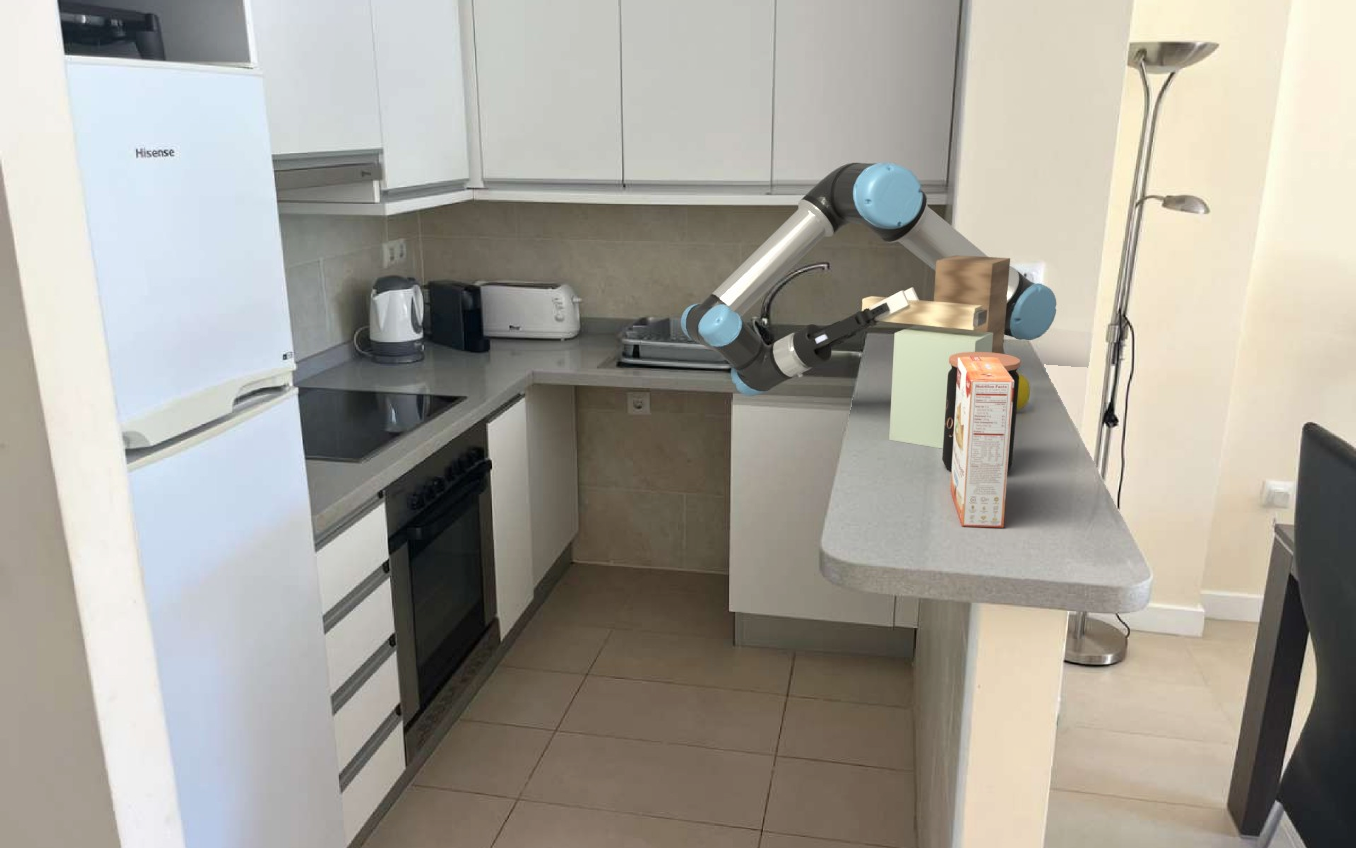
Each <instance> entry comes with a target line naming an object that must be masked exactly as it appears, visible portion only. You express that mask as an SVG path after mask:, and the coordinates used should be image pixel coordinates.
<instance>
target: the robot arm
mask: <svg viewBox="0 0 1356 848" xmlns="http://www.w3.org/2000/svg"><path fill="white" fill-rule="evenodd" d="M921 188H922V185H921V183H920V180H919V179H918V177H917V176H916V175H915V174H914V173H913V172H912V170H909V169H908V168H906V167H904V166H902V165H899V164H895V163H891V162H879V163H874V162H873V163H867V162H851V163H846V164H843V165H841V166H840V167H838V168H836V169H834V170H833V171H831V172H830V173H828V174H827V175H826V176H825V177H823V178H822V179H821V180H820V181H819V182H818V183H816V184H815V186H814V187H813V188H811V189H810V190H809V191H808V192H807V193H806V194H805V195H804V196H803V197H802V198H801V199H800V200H798V205H797V206H798V208H797V210H796V211H794V213H793V214H791V216H790V217H789V218H787V220H785V222H783V224H781V225H780V227H779V228H777V229H776V230H775V231H774V232H773V233H772V235H770V236H769V237H768V239H767V240H766V241H764V242H763V243H762V244H761V245H760V246H759V247H758V248H757V249H756V250H755V251H754V252H753V253H751V255H750V256H749V257H748V258H747V259H746V260H745V261H743V263H742V264H741V265H740V266H738V267H737V268H736V269H735V270H734V272H733V273H731V275H729V276H728V277H727V278H726V279H725V280H724V281H723V282H722V283H721V284H720V285H719V286H718V287H717V288H716V289H715V290H714V291H713V292H712V293H711V294H710V295H709V296H708V297H706V299H704V301H702V302H700V303H695V304H694V303H693V304H691V305H690V306H688V307H686V308H685V310H684V311H683V313H682V314H681V318H680V326H681V330H682V332H683V334H684V335H685V336H686V337H687V338H688V339H690V340H691V341H693V342H694V343H697V344H699V345H702V346H704V347H706V348H708V349H709V350H712V351H714V352H716V353H717V354H719V355H720V356H721V357H722V358H723V359H724V360H725V361H726V362H728V364H730V366H731V370H730V377H731V380H732V383H733V384H735V388H736V390H737V391H738V392H739V393H740V394H742V395H744V396H746V397H754V396H757V395H759V394H761V393H766V392H768V391H771V389H773V388H774V387H776V386H778V385H780V384H782V383H784V382H786V381H788V380H790V379H792V378H795V377H796V376H798V378H802V377H803V376H804V374H803V373H804V372H806V371H809V370H810V369H812V368H815V367H817V366H821V365H822V364H823V363H826V362H829V360H830V359H831V357H832V348H833V347H837V346H840V345H842V344H844V343H845V341H847V340H849V339H851V338H853V337H854V336H856V335H857V333H859V332H861V331H863V330H866V329H867V328H869V327H871V328H873V327H875V326H877V323H879V322H880V321H878V320H880V319H882V318H884V317H886V316H888V315H890V314H892V313H894V312H896V311H898V310H900V309H902V308H904V307H906V306H908V305H910V303H909V301H908V299H910V300H920V299H919V297H918V295H917V293H916V291H915V289H914V287H909V288H907V289H906V290H900V291H898V292H896V293H894V294H893V295H890V296H888V297H886V299H884V300H882V301H880V302H878V303H877V304H875V305H873V306H871V307H870V308H871V310H870V309H869V308H868V309H867V308H866V309H864V311H862V310H860V311H857V312H856V313H854V314H852V315H850V316H849V317H846V318H845V319H842V320H839V321H836V322H834V323H831V324H827V325H826V326H822V327H820V326H819V325H817V324H815V323H812V324H811V323H810V324H807V325H806V326H803V327H802V328H800V329H798V330H796V331H795V332H792V333H790V334H787V335H786V336H784V337H782V338H780V339H778V340H777V341H775V342H773V343H771V344H769V345H768V344H766V343H765V342H764V340H763V339H762V338H760V337H759V336H758V335H757V333H755V332H754V331H753V329H752V328H750V326H749V325H748V324H747V323H746V322H745V321H744V320H743V319H742V317H743V316H744V315H745V313H747V312H748V311H749V310H750V309H751V308H752V307H753V306H754V305H755V304H756V303H757V302H758V301H759V300H760V299H761V298H762V297H763V296H764V295H765V294H766V293H767V292H768V291H770V289H772V288H773V287H774V285H775V284H777V283H778V281H780V280H781V279H782V278H783V277H784V276H785V275H786V274H787V273H788V272H789V271H790V270H791V269H792V268H793V267H794V266H795V265H796V264H797V263H798V262H799V261H800V260H801V259H802V258H803V257H804V256H805V255H807V253H808V252H810V250H812V249H813V247H815V246H816V245H817V244H818V243H819V242H820V241H821V240H822V239H823V238H824V237H827V238H828V237H833V236H834V234H835V233H836V232H837V231H839V230H840V229H842V228H843V227H845V226H846V225H849V224H857V225H862V226H864V227H866V228H867V229H869V230H870V231H871V232H872V233H874V234H875V235H876V236H878V237H879V238H880V239H881V240H883V241H884V242H886V243H890V244H893V243H897V242H898V243H899V244H901V245H902V246H903V247H905V249H907V250H908V251H910V252H911V253H912V254H913V255H915V256H916V257H917V258H918V259H920V260H921V262H922V261H923V263H925V264H926V265H927V266H929V268H931V269H932V270H933V271H935V272H936V261H937V260H940V259H944V258H948V257H951V256H955V255H961V256H979V257H989V256H988V255H987V254H986V253H985V252H984V251H982V250H981V249H980V248H978V247H977V246H976V245H975V244H974V243H972V242H971V241H970V240H969V239H968V238H966V237H965V236H964V235H963V234H961V233H960V232H959V231H958V229H956V228H954V226H952V225H951V224H950V223H948V222H947V221H946V220H944V219H943V218H942V217H941V216H940V215H938V214H937V213H936V212H935V211H934V210H933V209H931V208H930V207H929V206H928V201H929V200H928V199H929V198H928V195H927V194H926V193H925V192H924V191H923V189H922V190H921ZM1057 305H1058V304H1057V298H1056V296H1055V293H1054V292H1053V290H1052V289H1051V288H1050V287H1048V286H1046V285H1045V284H1042V283H1035V282H1032V281H1031V280H1030V279H1028V278H1027V277H1026V276H1024V275H1023V274H1022V273H1021V272H1020V271H1018V270H1017V269H1016V268H1015V267H1013V266H1010V268H1009V280H1008V292H1007V305H1006V317H1005V330H1004V336H1008V337H1011V338H1013V339H1016V340H1019V341H1021V340H1023V341H1024V340H1025V341H1033V340H1036V339H1038V338H1040V337H1042V336H1043V335H1044V334H1046V332H1048V330H1049V329H1050V328H1051V326H1052V324H1053V323H1054V320H1055V317H1056V314H1057V308H1056V307H1057ZM874 318H875V319H876V321H875V320H874ZM1003 354H1006V353H1005V349H1004V347H1003Z"/></svg>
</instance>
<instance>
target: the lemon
mask: <svg viewBox="0 0 1356 848" xmlns="http://www.w3.org/2000/svg"><path fill="white" fill-rule="evenodd" d="M1016 372H1017V373H1018V375H1019V388H1018V399H1017V411H1019V410H1020V409H1022V408H1024V407H1025V406H1026V405H1027V403H1028V402H1029V398H1030V394H1031V393H1030V391H1031V389H1030V388H1031V387H1030V384H1029V381H1028V379H1027V378H1026V377H1025V376H1024V375H1022V374H1021V373H1019V372H1018V371H1016Z"/></svg>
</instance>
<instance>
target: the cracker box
mask: <svg viewBox="0 0 1356 848" xmlns="http://www.w3.org/2000/svg"><path fill="white" fill-rule="evenodd" d="M1013 393H1014V380H1013V379H1012V377H1011V376H1010V374H1009V373H1008V372H1007V370H1006V369H1005V368H1004V366H1003V365H1002V364H1001V362H1000V361H999V359H998V358H994V357H959V358H958V366H957V385H956V405H955V420H954V439H953V456H952V472H950V474H951V476H950V494H951V497H952V499H953V502H954V505H955V508H956V512H957V515H958V518H959V522H960V524H961V526H962V527H970V528H971V527H973V528H975V527H977V528H978V527H979V528H980V527H981V528H1000V529H1002V528H1004V523H1005V511H1006V509H1005V508H1006V494H1007V481H1008V471H1007V469H1008V457H1009V444H1010V430H1011V418H1012V406H1013Z"/></svg>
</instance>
